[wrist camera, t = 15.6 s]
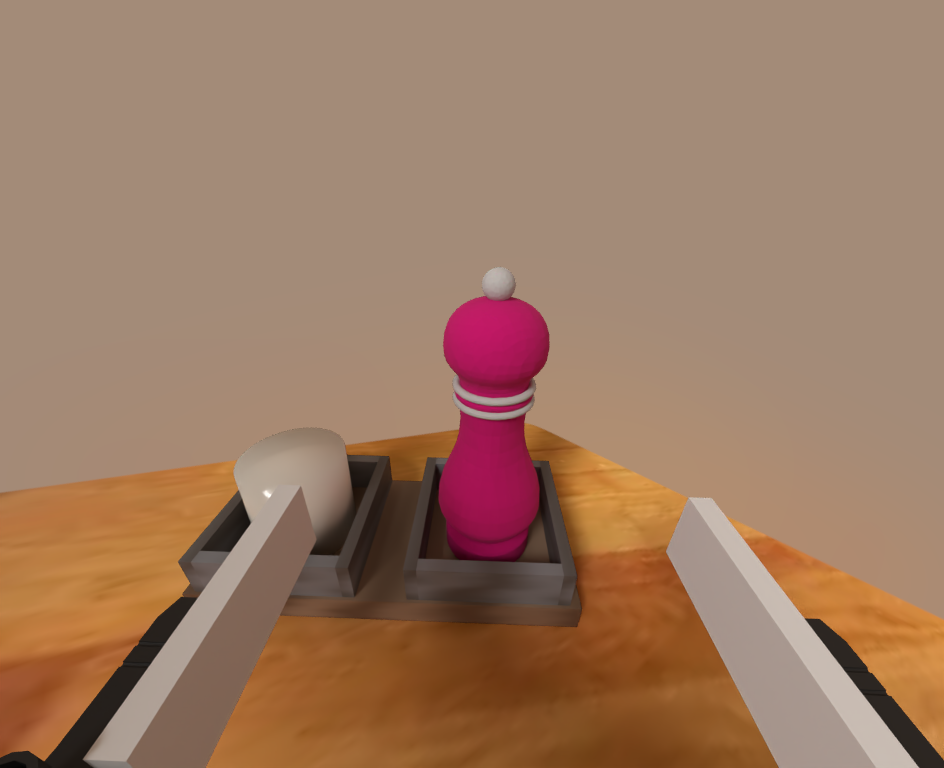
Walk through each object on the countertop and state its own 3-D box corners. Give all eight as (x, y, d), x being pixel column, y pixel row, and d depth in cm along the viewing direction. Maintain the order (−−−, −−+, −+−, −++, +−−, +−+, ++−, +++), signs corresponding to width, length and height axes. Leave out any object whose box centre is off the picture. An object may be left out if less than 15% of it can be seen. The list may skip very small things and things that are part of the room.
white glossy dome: (237, 562, 25) (206, 486, 22) (292, 491, 31) (274, 424, 28) (333, 572, 24) (316, 496, 21) (369, 498, 30) (359, 431, 27)
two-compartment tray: (193, 611, 24) (164, 564, 21) (277, 492, 34) (263, 451, 31) (577, 627, 23) (589, 579, 21) (549, 501, 33) (556, 459, 31)
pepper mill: (493, 487, 32) (505, 254, 23) (553, 543, 27) (602, 271, 17) (423, 525, 28) (404, 263, 19) (478, 599, 23) (489, 288, 14)
